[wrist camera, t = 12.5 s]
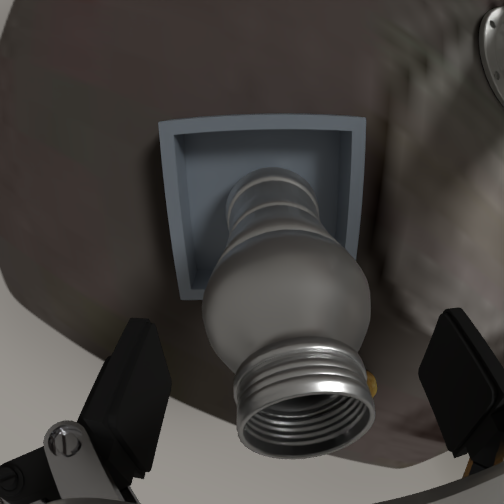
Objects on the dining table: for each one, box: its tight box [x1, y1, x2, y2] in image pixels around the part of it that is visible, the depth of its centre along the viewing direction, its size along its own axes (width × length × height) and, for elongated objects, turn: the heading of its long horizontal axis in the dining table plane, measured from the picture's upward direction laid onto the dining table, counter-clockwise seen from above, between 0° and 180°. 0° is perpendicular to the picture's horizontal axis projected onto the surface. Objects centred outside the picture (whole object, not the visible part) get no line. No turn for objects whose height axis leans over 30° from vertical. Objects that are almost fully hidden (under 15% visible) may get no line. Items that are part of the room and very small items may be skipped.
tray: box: [158, 113, 366, 300], centre depth 24 cm, size 14×14×4 cm
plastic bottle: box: [202, 167, 376, 459], centre depth 16 cm, size 6×7×20 cm
